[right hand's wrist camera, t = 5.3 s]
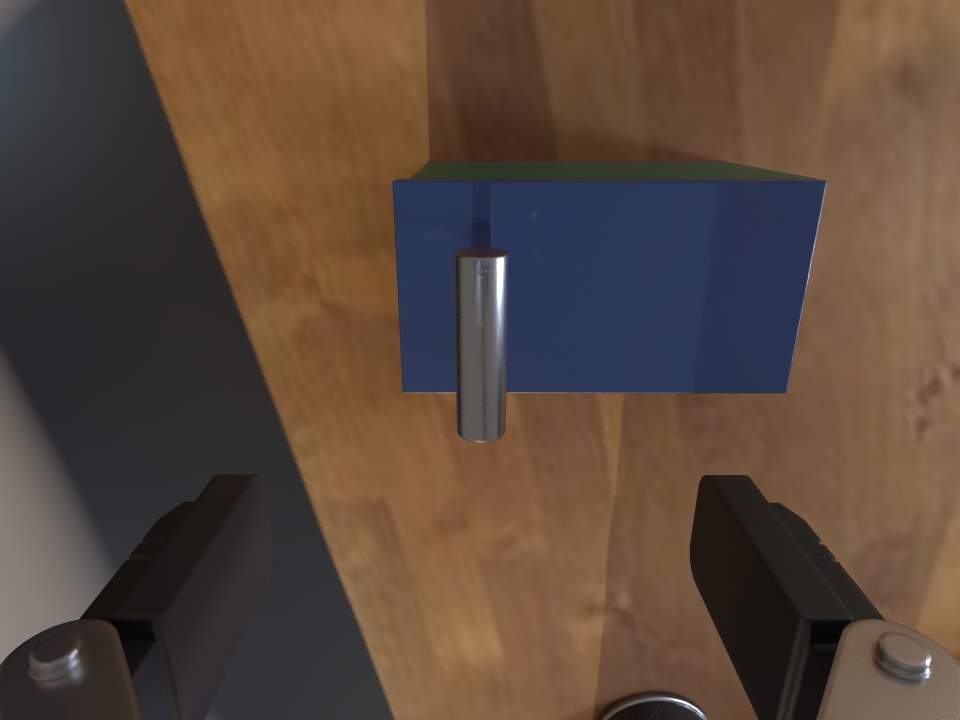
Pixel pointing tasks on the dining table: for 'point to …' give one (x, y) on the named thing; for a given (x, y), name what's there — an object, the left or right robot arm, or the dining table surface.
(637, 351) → the lid
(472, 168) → the chest
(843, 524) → the dining table surface
